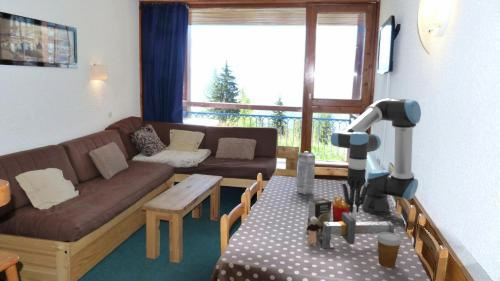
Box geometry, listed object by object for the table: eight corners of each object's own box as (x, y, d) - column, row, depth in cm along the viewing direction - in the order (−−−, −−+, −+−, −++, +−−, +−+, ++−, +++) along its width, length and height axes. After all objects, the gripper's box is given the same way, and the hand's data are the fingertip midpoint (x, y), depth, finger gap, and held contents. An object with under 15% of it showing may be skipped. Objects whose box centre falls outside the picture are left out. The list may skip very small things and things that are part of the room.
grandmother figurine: (308, 246, 175) (309, 219, 173) (303, 243, 178) (304, 216, 176) (322, 243, 179) (323, 216, 177) (316, 240, 182) (318, 214, 180)
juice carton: (313, 195, 252) (316, 153, 248) (297, 194, 252) (299, 152, 248) (311, 191, 261) (314, 150, 257) (295, 190, 261) (297, 150, 257)
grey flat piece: (345, 234, 183) (347, 212, 181) (354, 243, 173) (356, 221, 171) (340, 234, 183) (342, 212, 181) (348, 244, 173) (350, 221, 171)
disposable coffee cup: (370, 259, 165) (373, 231, 163) (392, 258, 166) (395, 231, 164) (380, 270, 156) (382, 241, 154) (403, 269, 157) (406, 241, 155)
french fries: (337, 221, 207) (339, 193, 205) (351, 225, 202) (354, 197, 199) (328, 225, 201) (330, 196, 199) (342, 230, 195) (344, 200, 193)
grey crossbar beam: (389, 240, 185) (391, 219, 183) (397, 247, 177) (399, 226, 175) (317, 241, 181) (319, 220, 179) (323, 249, 173) (324, 227, 171)
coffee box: (314, 237, 186) (316, 203, 183) (306, 232, 192) (308, 199, 189) (329, 234, 190) (332, 201, 188) (321, 229, 196) (323, 197, 193)
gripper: (367, 165, 177) (363, 216, 181) (339, 165, 176) (336, 216, 179) (374, 169, 170) (370, 222, 174) (345, 169, 168) (341, 222, 172)
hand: (353, 219), depth 177 cm, fingers closed
